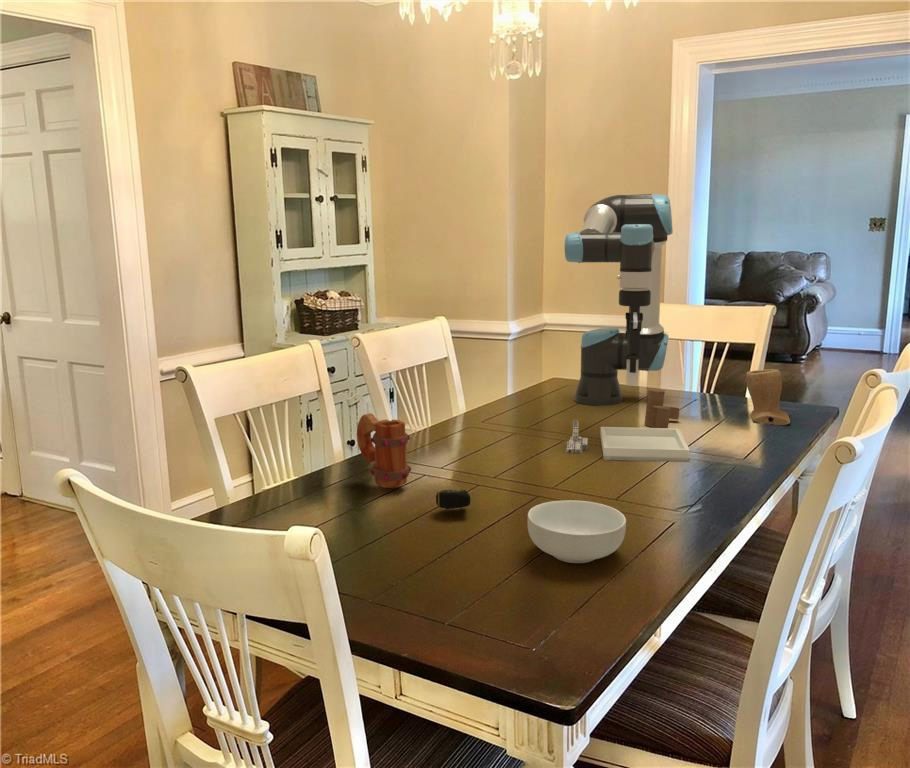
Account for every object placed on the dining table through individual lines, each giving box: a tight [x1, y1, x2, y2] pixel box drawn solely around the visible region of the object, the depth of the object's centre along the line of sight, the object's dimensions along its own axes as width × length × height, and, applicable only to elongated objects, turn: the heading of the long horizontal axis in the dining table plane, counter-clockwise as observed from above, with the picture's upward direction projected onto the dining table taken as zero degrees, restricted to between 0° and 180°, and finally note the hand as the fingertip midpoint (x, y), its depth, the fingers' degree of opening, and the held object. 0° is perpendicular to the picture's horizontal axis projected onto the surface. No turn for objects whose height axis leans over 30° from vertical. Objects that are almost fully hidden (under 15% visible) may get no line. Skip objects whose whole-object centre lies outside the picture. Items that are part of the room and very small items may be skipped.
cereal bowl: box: [526, 499, 627, 564], centre depth 135 cm, size 17×17×7 cm
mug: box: [356, 412, 412, 489], centre depth 173 cm, size 15×8×15 cm, turn 47°
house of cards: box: [565, 420, 589, 454], centre depth 196 cm, size 9×9×8 cm
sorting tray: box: [600, 426, 691, 462], centre depth 196 cm, size 20×20×3 cm
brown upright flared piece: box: [745, 368, 791, 426], centre depth 221 cm, size 15×12×15 cm
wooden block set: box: [644, 387, 680, 428], centre depth 215 cm, size 18×9×10 cm, turn 160°
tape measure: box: [435, 489, 472, 511], centre depth 156 cm, size 7×7×4 cm
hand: (631, 384), depth 194 cm, fingers closed
